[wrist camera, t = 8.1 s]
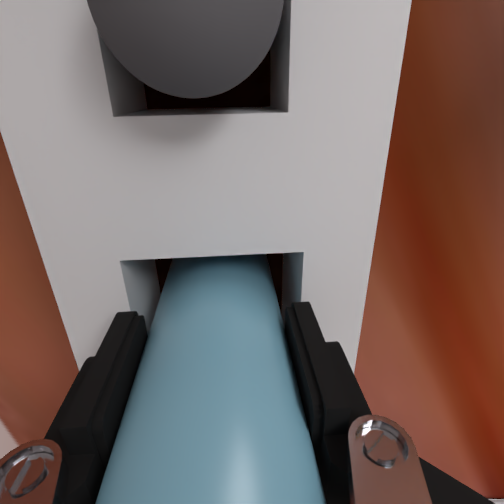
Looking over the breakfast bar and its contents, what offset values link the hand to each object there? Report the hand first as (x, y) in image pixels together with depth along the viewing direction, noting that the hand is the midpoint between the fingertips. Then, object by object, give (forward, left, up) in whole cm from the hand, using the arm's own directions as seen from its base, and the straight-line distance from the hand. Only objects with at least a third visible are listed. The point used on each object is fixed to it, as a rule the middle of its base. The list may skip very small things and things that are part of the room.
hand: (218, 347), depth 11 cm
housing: (-4, 0, -5) cm, 6 cm away
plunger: (-9, 0, -5) cm, 10 cm away
